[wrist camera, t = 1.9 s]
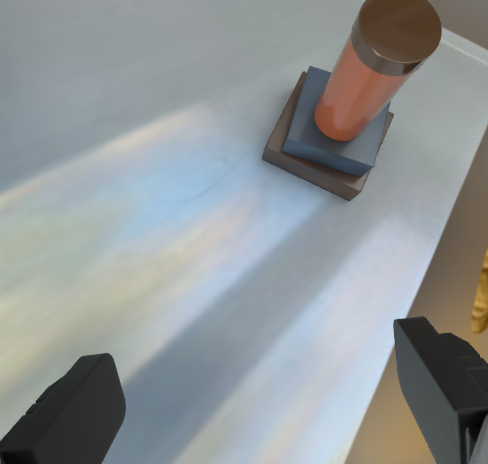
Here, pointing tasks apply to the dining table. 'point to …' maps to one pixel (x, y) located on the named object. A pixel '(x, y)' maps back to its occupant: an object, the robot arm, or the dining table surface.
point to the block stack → (323, 142)
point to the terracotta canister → (376, 64)
